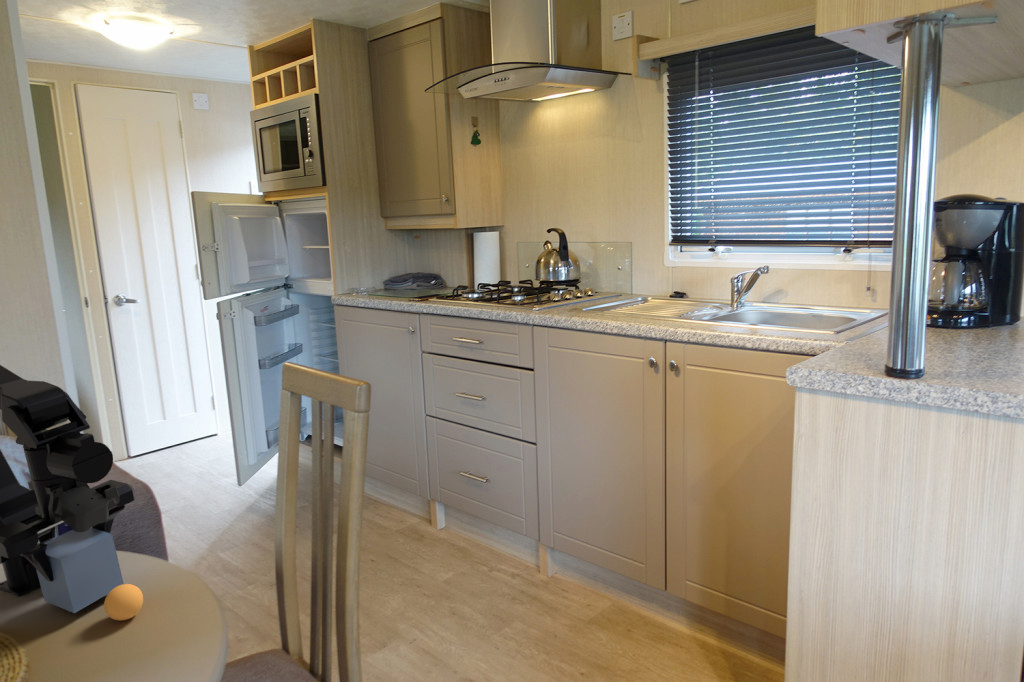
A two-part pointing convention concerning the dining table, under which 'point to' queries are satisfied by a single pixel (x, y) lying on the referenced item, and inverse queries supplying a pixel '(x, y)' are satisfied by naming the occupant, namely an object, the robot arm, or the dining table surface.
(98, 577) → the matte slate cube
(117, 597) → the ball
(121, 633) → the dining table surface
